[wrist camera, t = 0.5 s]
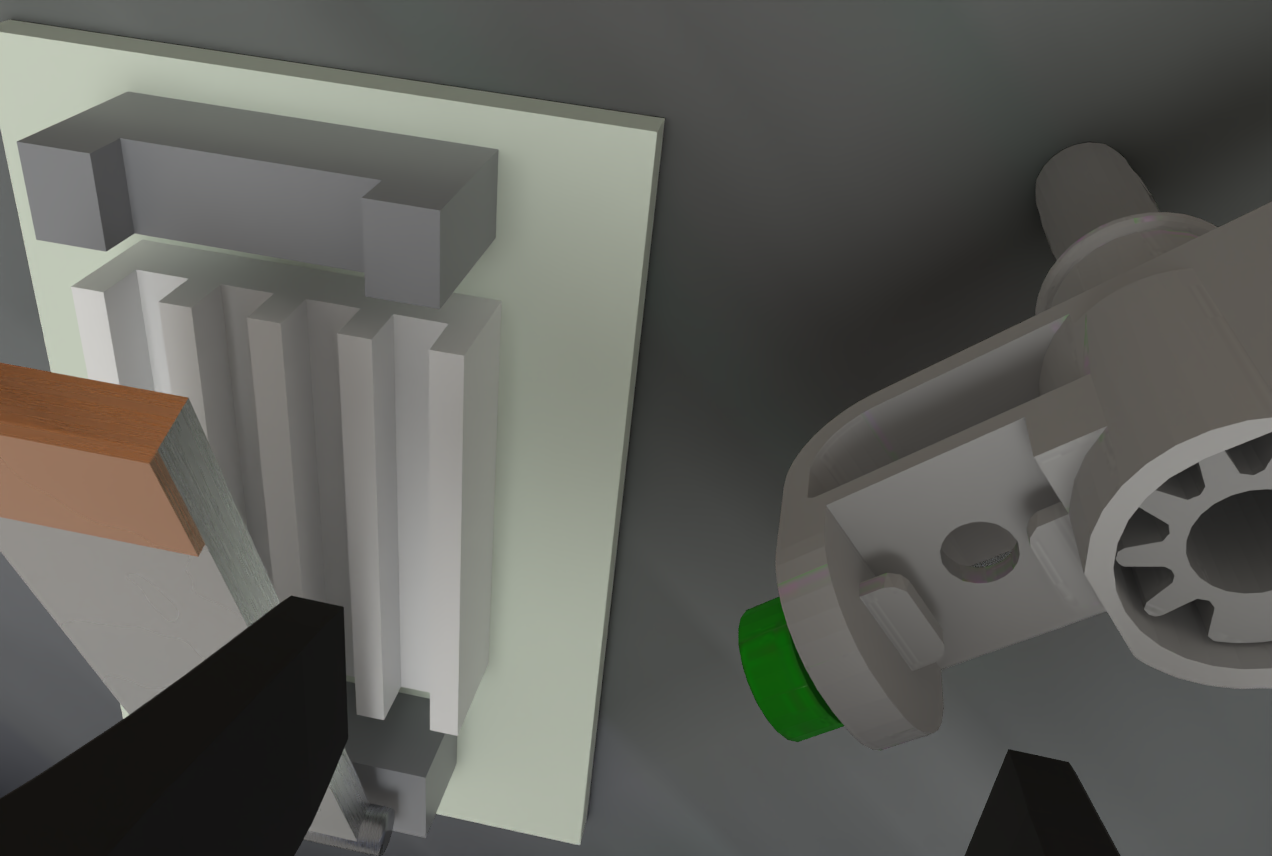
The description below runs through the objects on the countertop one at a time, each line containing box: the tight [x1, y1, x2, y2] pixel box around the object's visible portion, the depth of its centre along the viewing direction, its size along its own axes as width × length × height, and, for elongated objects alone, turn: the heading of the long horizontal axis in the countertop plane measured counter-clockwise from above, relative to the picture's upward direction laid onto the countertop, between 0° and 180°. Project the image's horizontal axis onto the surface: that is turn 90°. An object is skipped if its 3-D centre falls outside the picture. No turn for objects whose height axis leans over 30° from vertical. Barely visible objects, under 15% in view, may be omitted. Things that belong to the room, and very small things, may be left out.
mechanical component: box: [739, 142, 1272, 750], centre depth 14 cm, size 3×10×10 cm, turn 125°
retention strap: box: [0, 363, 395, 856], centre depth 19 cm, size 14×4×1 cm, turn 174°
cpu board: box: [0, 20, 665, 845], centre depth 23 cm, size 18×12×4 cm, turn 174°
